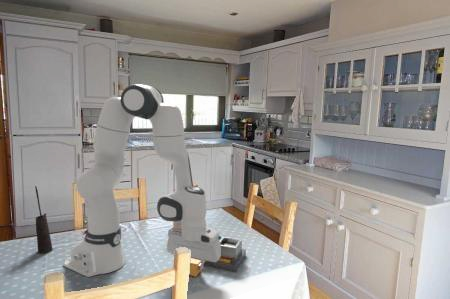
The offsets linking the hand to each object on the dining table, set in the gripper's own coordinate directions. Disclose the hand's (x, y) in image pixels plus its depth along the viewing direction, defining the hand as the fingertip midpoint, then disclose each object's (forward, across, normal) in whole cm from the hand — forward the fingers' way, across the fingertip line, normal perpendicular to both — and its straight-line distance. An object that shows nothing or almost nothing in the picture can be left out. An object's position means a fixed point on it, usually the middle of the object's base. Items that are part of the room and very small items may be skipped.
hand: (193, 267), depth 114 cm
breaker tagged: (-1, +9, +13) cm, 16 cm away
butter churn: (+3, -65, -6) cm, 65 cm away
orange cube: (+2, 0, 0) cm, 2 cm away
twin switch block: (+2, +4, +13) cm, 14 cm away
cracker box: (+2, -22, +37) cm, 43 cm away
